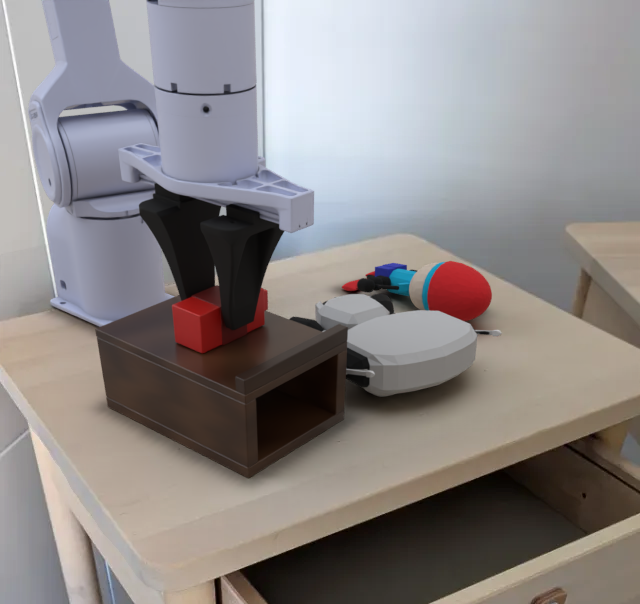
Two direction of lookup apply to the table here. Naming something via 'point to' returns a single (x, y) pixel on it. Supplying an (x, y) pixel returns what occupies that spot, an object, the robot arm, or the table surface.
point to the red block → (210, 320)
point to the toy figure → (432, 287)
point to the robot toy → (397, 343)
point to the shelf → (226, 385)
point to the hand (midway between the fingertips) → (219, 316)
